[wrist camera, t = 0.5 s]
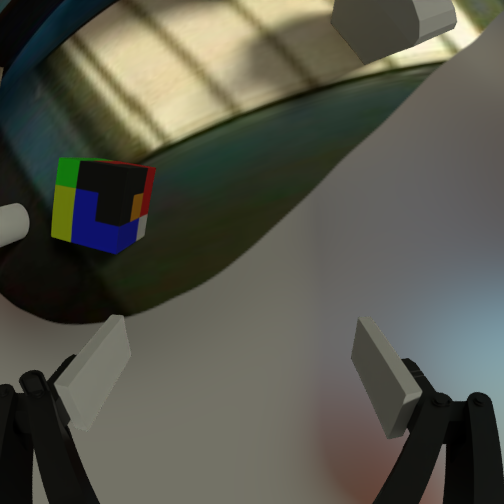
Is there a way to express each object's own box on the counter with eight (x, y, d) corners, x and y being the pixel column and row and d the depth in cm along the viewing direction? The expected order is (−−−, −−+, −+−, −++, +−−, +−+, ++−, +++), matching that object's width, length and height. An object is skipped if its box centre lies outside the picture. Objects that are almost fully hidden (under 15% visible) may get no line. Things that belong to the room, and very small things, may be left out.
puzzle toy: (144, 235, 42) (116, 254, 33) (87, 222, 42) (51, 236, 32) (156, 167, 40) (128, 168, 30) (96, 158, 39) (59, 157, 30)
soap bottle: (308, 20, 34) (356, -96, 9) (357, -1, 32) (426, -96, 7) (360, 83, 36) (466, 9, 11) (405, 58, 35) (513, -4, 10)
